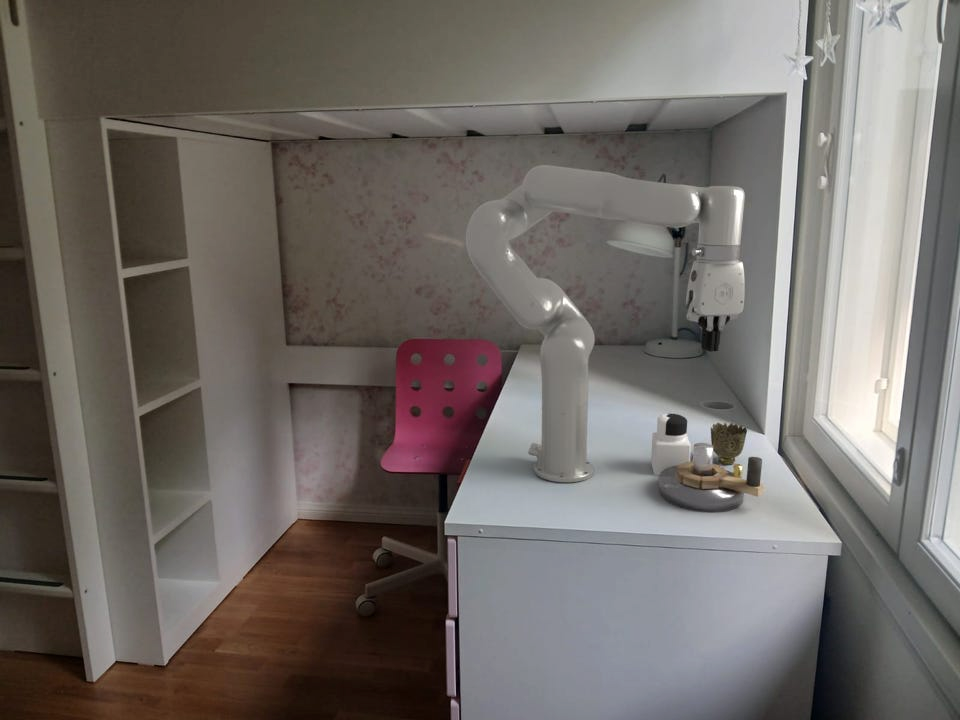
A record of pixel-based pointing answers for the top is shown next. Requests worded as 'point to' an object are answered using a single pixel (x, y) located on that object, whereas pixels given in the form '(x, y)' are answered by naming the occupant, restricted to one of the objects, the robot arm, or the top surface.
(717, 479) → the wrench
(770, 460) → the top surface
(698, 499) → the post base
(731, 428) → the cup
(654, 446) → the medicine bottle
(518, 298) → the robot arm
